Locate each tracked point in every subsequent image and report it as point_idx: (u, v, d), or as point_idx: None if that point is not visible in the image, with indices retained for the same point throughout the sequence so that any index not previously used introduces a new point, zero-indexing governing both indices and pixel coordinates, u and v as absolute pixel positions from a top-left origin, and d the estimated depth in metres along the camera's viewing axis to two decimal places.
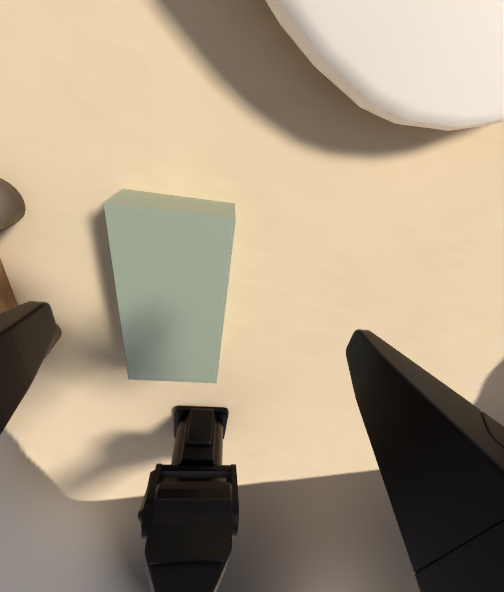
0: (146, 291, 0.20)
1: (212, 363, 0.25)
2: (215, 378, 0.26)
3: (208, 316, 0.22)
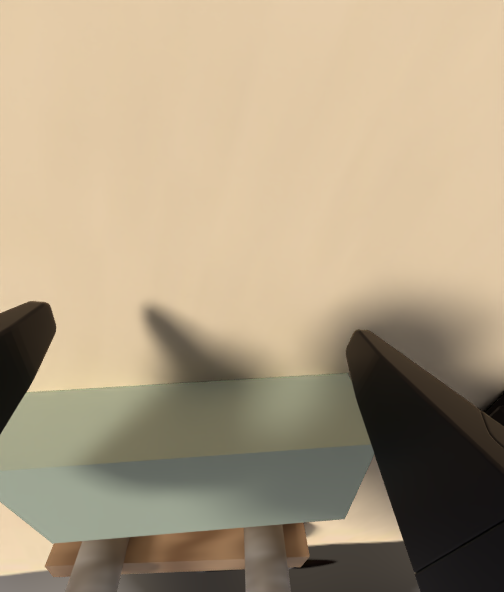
0: (160, 518, 0.14)
1: (312, 455, 0.11)
2: (362, 446, 0.11)
3: (184, 472, 0.12)
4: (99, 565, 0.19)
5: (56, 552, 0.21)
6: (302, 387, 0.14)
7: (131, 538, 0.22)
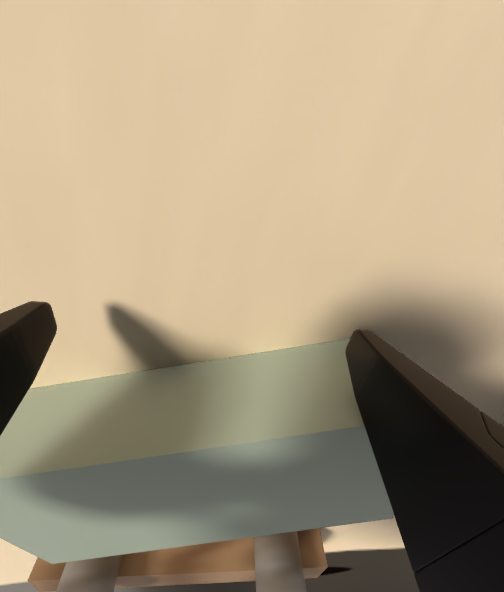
0: (163, 531, 0.12)
1: (336, 439, 0.09)
2: None
3: (174, 473, 0.09)
4: (88, 581, 0.16)
5: (41, 564, 0.18)
6: (317, 356, 0.11)
7: None
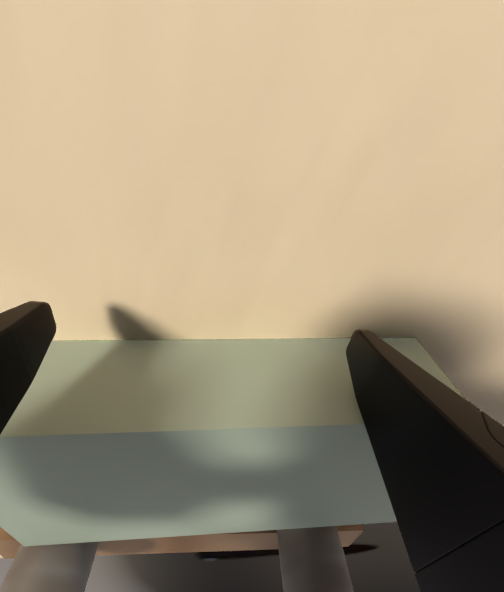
0: (169, 516, 0.11)
1: None
2: None
3: (216, 452, 0.08)
4: None
5: None
6: None
7: None
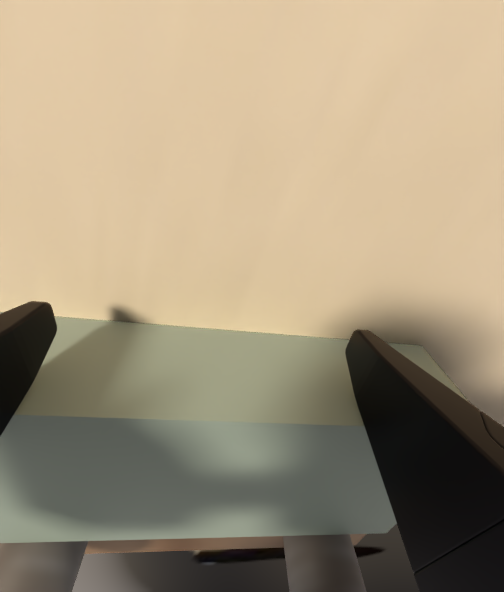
0: (162, 516, 0.10)
1: None
2: None
3: (229, 446, 0.08)
4: None
5: None
6: None
7: None
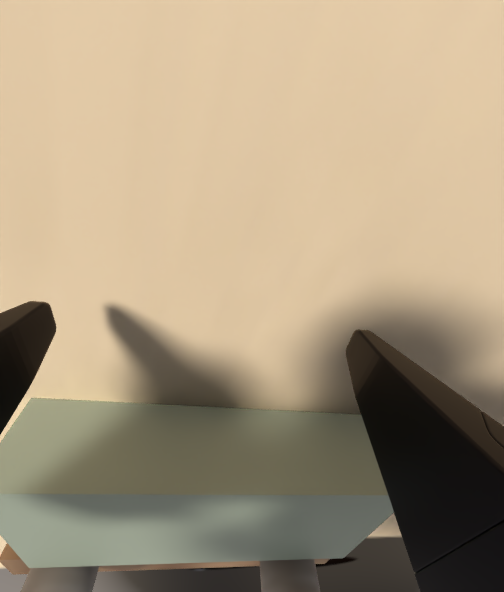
0: (162, 549, 0.13)
1: (346, 501, 0.11)
2: None
3: (212, 508, 0.11)
4: None
5: None
6: (333, 425, 0.13)
7: None
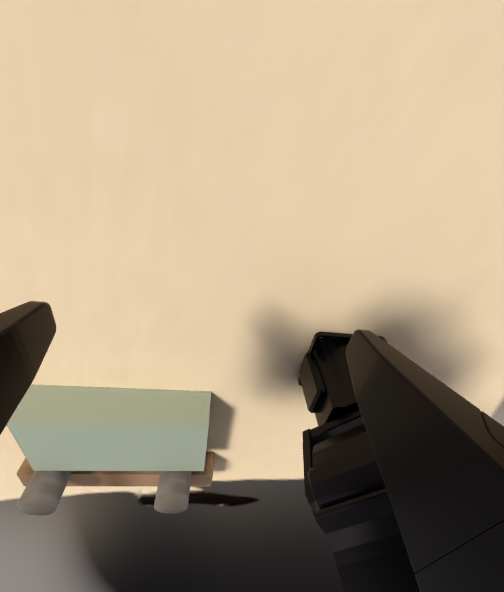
0: (98, 459, 0.26)
1: (177, 429, 0.24)
2: (201, 427, 0.24)
3: (113, 432, 0.24)
4: None
5: (25, 466, 0.29)
6: (184, 396, 0.26)
7: None
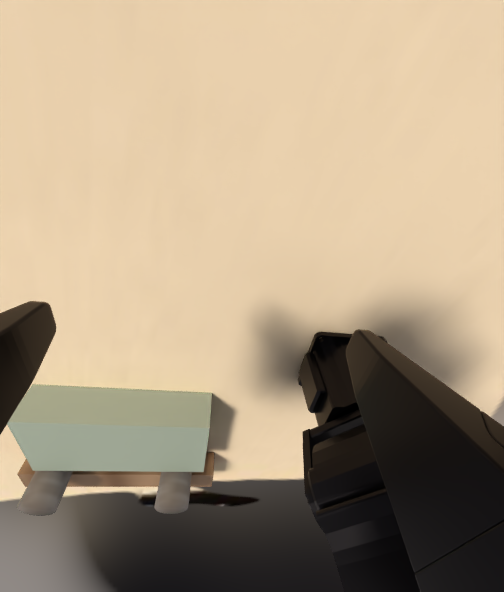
0: (98, 460, 0.26)
1: (178, 430, 0.24)
2: (202, 428, 0.24)
3: (114, 433, 0.24)
4: None
5: (26, 466, 0.29)
6: (185, 397, 0.26)
7: None
